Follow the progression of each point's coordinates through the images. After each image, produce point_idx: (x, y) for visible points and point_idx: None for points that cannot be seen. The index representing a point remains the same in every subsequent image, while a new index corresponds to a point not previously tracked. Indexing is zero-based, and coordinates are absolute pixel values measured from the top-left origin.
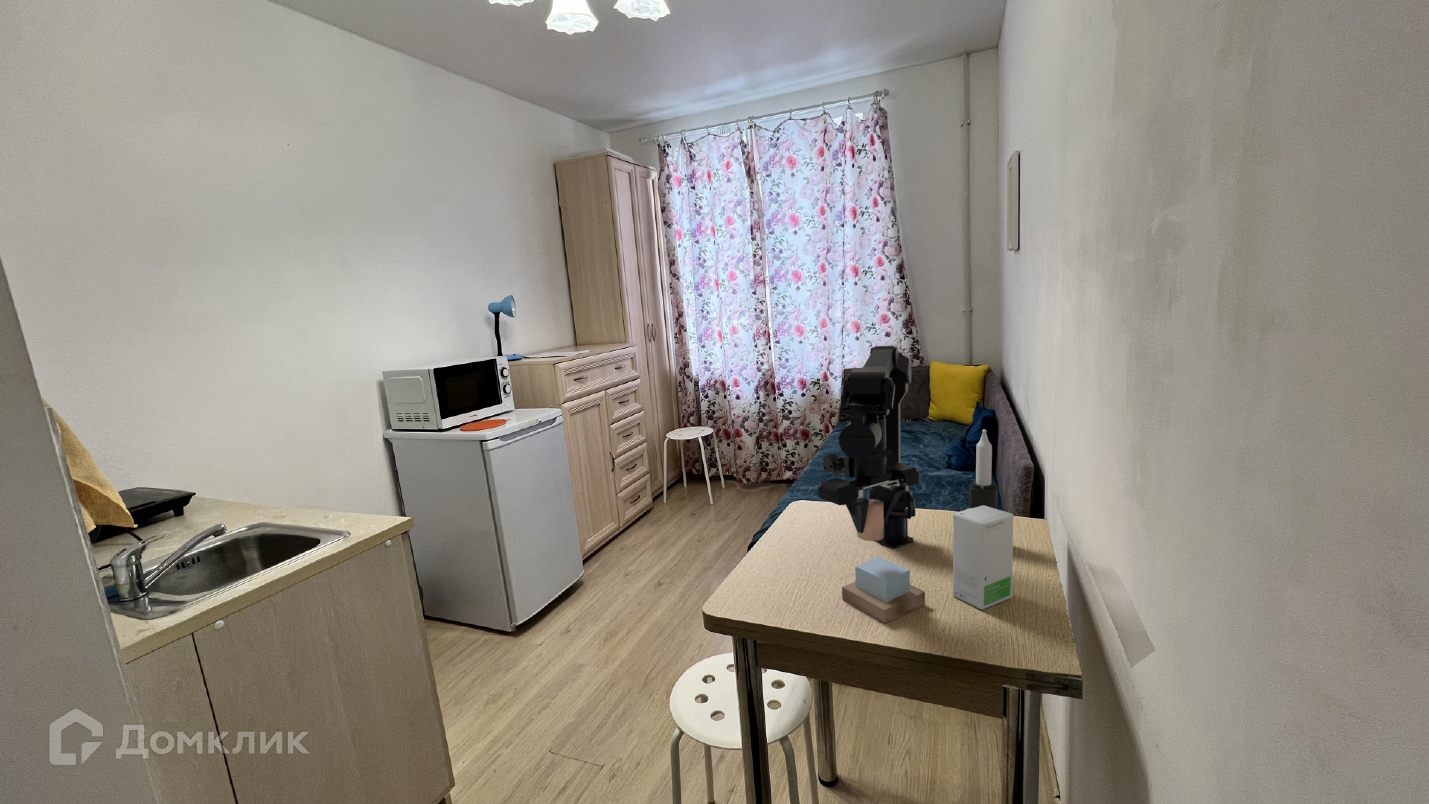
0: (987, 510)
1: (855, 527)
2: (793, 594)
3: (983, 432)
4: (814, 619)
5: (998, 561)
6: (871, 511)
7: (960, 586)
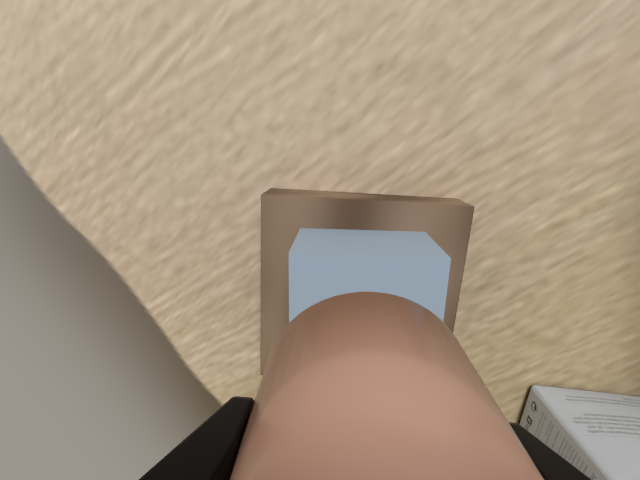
0: None
1: (208, 418)
2: (159, 42)
3: None
4: (128, 213)
5: None
6: None
7: (545, 441)
